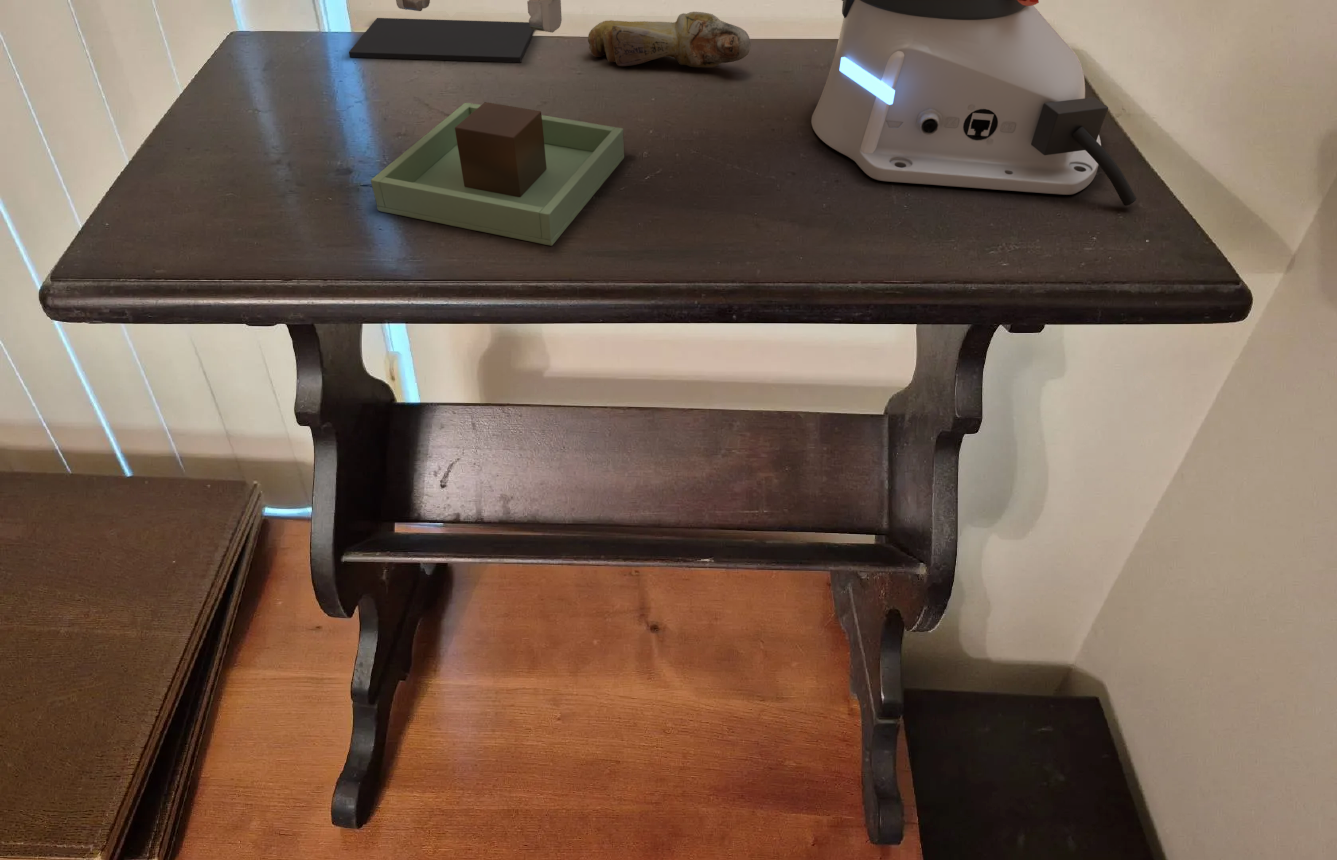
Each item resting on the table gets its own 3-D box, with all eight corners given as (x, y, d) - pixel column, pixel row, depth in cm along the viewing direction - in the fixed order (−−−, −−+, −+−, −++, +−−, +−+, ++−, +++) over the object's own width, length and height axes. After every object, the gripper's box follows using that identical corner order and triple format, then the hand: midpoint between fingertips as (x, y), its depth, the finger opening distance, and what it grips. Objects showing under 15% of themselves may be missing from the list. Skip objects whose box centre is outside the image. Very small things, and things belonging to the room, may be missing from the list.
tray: (624, 157, 68) (623, 127, 66) (551, 246, 59) (549, 214, 57) (469, 130, 71) (465, 101, 69) (377, 210, 62) (369, 179, 60)
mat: (536, 27, 88) (535, 22, 87) (520, 62, 81) (519, 57, 81) (378, 22, 88) (376, 17, 88) (349, 57, 82) (348, 51, 81)
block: (547, 169, 65) (541, 110, 62) (520, 197, 62) (513, 137, 59) (492, 159, 66) (484, 101, 63) (464, 187, 63) (454, 127, 60)
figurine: (576, 40, 79) (733, 40, 73) (595, -4, 81) (750, -7, 75) (596, 83, 83) (745, 87, 78) (614, 41, 85) (761, 41, 80)
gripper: (650, -245, 47) (647, 24, 56) (321, -272, 51) (370, -18, 61) (606, -231, 43) (611, 59, 52) (251, -261, 47) (315, 11, 57)
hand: (479, 17), depth 56 cm, fingers open, 8 cm apart
